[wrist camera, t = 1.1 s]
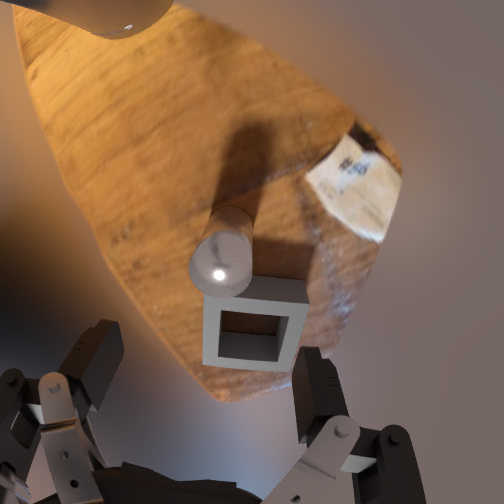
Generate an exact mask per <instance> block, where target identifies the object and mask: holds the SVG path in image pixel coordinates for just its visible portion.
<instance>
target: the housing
mask: <svg viewBox="0 0 504 504" xmlns="http://www.w3.org/2000/svg"><path fill="white" fill-rule="evenodd" d="M309 306H310V303H309V299H308V296H307V292H306V289H305V285H304V282H303V280H295V279H284V278H274V277H265V276H255V275H252V278H251V281H250V283H249V285H248V286H247V288H246V289H245V290H244V291H243V292H241V293H240V294H238V295H236V296H234V297H230V298H214V297H211V296H208V295H206V294H204V310H203V365H210V366H218V367H227V368H237V369H248V370H261V371H278V372H289V371H290V368H291V365H292V362H293V359H294V356H295V352H296V349H297V346H298V343H299V340H300V336H301V333H302V330H303V326H304V323H305V320H306V316H307V313H308V309H309ZM223 310H225V311H234V312H244V313H254V314H265V315H276V316H280V318H279V323H278V327H277V331H276V336H267V335H255V334H244V333H235V332H225V331H221V329H222V316H223Z"/></svg>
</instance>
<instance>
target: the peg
mask: <svg viewBox="0 0 504 504" xmlns="http://www.w3.org/2000/svg"><path fill="white" fill-rule="evenodd" d="M252 244H253V225H252V221H251V219H250V217H249V216H248V214H247V213H246V212H245V211H243V210H242V209H240V208H237V207H233V206H226V207H222V208H220V209H218V210H216V211H215V212H214V213H213V214H212V215H211V217H210V219H209V221H208V223H207V225H206V227H205V229H204V232H203V234H202V236H201V238H200V240H199V242H198V245H197V247H196V249H195V251H194V253H193V256H192V258H191V260H190V264H189V274H190V277H191V280H192V282H193V283H194V285H195V286H196V287H197V288H198V289H199V290H200V291H201V292H203V293H204V294H206V295H208V296H211V297H214V298H230V297H234V296H236V295H238V294H240V293H241V292H243V291H244V290H245V289H246V288H247V286H248V285H249V283H250V281H251V278H252Z"/></svg>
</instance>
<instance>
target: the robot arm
mask: <svg viewBox="0 0 504 504" xmlns="http://www.w3.org/2000/svg"><path fill="white" fill-rule="evenodd" d="M0 1H3V2H7V3H11V4H15V5H18V6H22V7H25V8H28V9H31V10H35V11H38V12H41V13H43V14H46V15H49V16H52V17H54V18H57V19H60V20H62V21H65V22H67V23H70V24H72V25H75V26H77V27H79V28H82V29H84V30H86V31H89V32H91V33H92V34H94V35H97V36H100V37H102V38H105V39H122V38H126V37H130V36H132V35H134V34H137V33H139V32H141V31H143V30H144V29H146V28H148V27H149V26H151V25H152V24H153V23H155V22H156V21H157V20H158V19H159V18H160V17H161V16H162V15H163V14H164V13H165V12H166V11H167V10H168V8H169V7H170V6H171V4H172V2H173V0H0ZM123 354H124V346H123V341H122V337H121V332H120V327H119V324H118V322H116V321H111V320H107V319H101V320H100V321H99V322H98V324H97V325H96V327H95V328H93V327H90V328H89V329H87V330H86V331H85V332H83V333H82V334H81V336H80V337H79V339H78V340H77V343H75V345H74V346H73V349H71V351H70V352H69V354H68V355H67V357H66V359H65V360H64V362H63V363H62V365H61V366H60V368H59V369H58V371H57V372H53V373H48V374H46V375H45V376H44V377H42V379H29V378H25V376H24V375H23V373H22V372H21V371H20V370H19V369H16V368H12V369H8V370H6V371H5V372H4V373H3V374H2V376H1V377H0V504H29V500H30V499H31V494H30V492H29V489H28V486H27V484H26V479H27V476H28V473H29V470H30V467H31V464H32V460H33V458H34V455H35V452H36V449H37V447H38V444H39V442H40V439H41V437H42V441H43V446H44V450H45V454H46V458H47V462H48V465H49V469H50V472H51V475H52V479H53V482H54V485H55V488H56V490H57V493H55V494H53V495H51V496H49V497H47V498H45V499H43V500H40V501H38V502H36V503H34V504H320V503H321V502H322V500H323V499H324V497H325V496H326V495H327V493H328V492H329V490H330V489H331V487H332V486H333V484H334V482H335V480H336V478H335V477H336V475H337V473H338V472H339V470H341V471H347V472H352V479H353V488H354V498H355V504H426V499H425V494H424V490H423V485H422V481H421V477H420V473H419V469H418V465H417V461H416V457H415V453H414V450H413V446H412V443H411V439H410V436H409V434H408V432H407V431H406V430H405V429H404V428H403V427H401V426H398V425H389V426H386V427H385V428H384V429H382V431H378V430H372V429H366V428H362V427H360V426H359V425H358V424H357V422H355V420H353V419H352V418H350V417H349V414H348V410H347V407H346V403H345V399H344V395H343V392H342V388H341V387H340V385H341V384H340V381H339V379H338V373H337V370H336V367H335V366H334V365H333V363H332V362H331V361H330V360H329V359H322V357H321V353H320V349H319V347H307V346H301V347H300V349H299V353H298V356H297V359H296V362H295V365H294V368H293V372H292V387H293V396H294V405H295V413H296V422H297V430H298V431H297V432H298V441H299V443H307V450H306V452H305V453H304V454H303V455H302V457H301V458H300V459H299V460H298V461H297V463H296V464H295V465H294V466H293V467H292V469H291V470H290V471H289V472H288V473H287V475H286V476H285V477H284V478H283V479H282V480H281V482H280V483H279V484H278V485H277V486H276V487H275V488H274V489H273V491H272V492H271V493H270V494H269V495H268V496H267V497H266V498H265V499H264V500H262V499H260V498H259V497H257V496H256V495H254V494H252V493H250V492H248V491H246V490H243V489H240V488H237V487H236V482H226V481H216V480H194V481H175V480H172V479H170V478H168V477H166V476H163V475H161V474H159V473H157V472H155V471H153V470H150V469H148V468H144V467H141V466H137V465H133V464H130V463H127V462H123V463H122V466H121V467H108V465H107V463H106V461H105V460H104V458H103V456H102V455H101V452H100V450H99V448H98V445H97V443H96V440H95V437H94V434H93V432H92V429H91V426H90V423H89V420H88V417H87V414H88V411H89V410H92V411H94V412H98V411H99V408H100V406H101V403H102V401H103V399H104V397H105V394H106V392H107V390H108V388H109V386H110V383H111V381H112V379H113V377H114V375H115V373H116V371H117V368H118V366H119V364H120V362H121V360H122V358H123ZM18 411H19V415H18V417H17V419H16V421H15V423H14V425H13V427H12V430H11V425H12V423H13V421H14V419H15V417H16V414H17V413H18Z"/></svg>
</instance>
